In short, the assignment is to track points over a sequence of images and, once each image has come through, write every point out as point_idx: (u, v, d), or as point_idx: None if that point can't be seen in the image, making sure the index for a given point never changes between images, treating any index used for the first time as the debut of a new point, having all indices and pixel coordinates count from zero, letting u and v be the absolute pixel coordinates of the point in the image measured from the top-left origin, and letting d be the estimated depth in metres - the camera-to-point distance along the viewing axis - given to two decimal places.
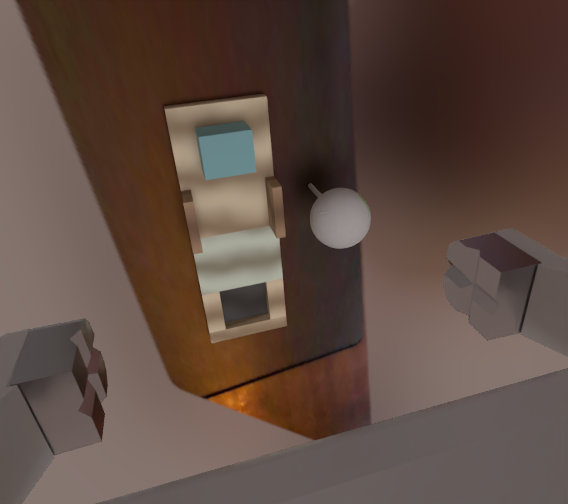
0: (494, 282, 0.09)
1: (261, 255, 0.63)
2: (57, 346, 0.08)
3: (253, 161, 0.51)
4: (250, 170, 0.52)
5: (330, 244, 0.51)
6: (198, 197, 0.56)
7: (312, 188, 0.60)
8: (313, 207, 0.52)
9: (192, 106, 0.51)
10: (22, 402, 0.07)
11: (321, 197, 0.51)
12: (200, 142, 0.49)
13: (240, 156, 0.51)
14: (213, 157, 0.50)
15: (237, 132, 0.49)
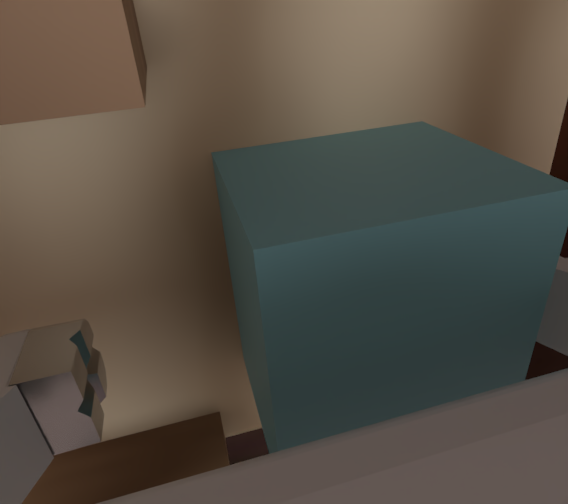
0: None
1: None
2: (56, 346, 0.08)
3: None
4: None
5: None
6: (92, 116, 0.09)
7: None
8: None
9: (560, 105, 0.11)
10: (21, 402, 0.07)
11: None
12: (542, 201, 0.07)
13: None
14: (420, 289, 0.07)
15: None
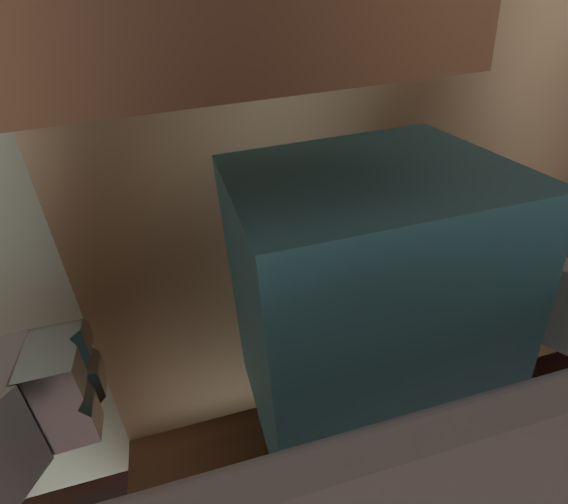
0: None
1: None
2: (57, 346, 0.08)
3: None
4: None
5: None
6: (310, 93, 0.09)
7: None
8: None
9: None
10: (22, 402, 0.07)
11: None
12: (548, 205, 0.07)
13: None
14: (424, 295, 0.07)
15: None
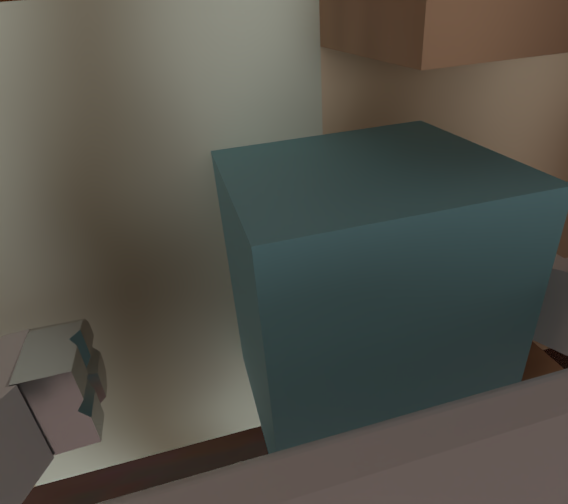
0: None
1: (176, 377, 0.12)
2: (57, 346, 0.08)
3: None
4: None
5: None
6: (550, 58, 0.11)
7: None
8: None
9: None
10: (22, 402, 0.07)
11: None
12: (538, 199, 0.07)
13: None
14: (417, 287, 0.07)
15: None
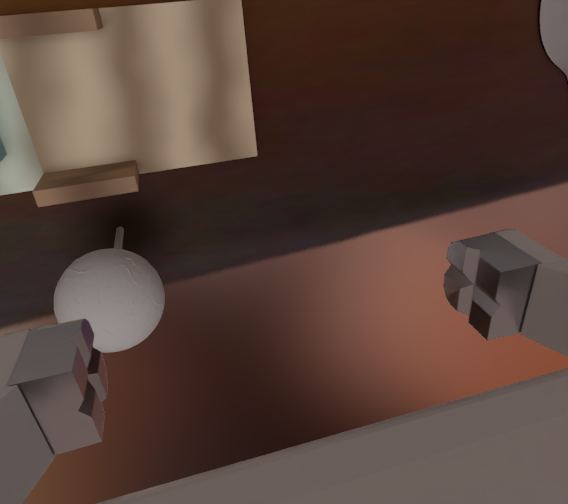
0: (494, 282, 0.09)
1: None
2: (57, 346, 0.08)
3: None
4: None
5: (66, 299, 0.28)
6: (88, 41, 0.31)
7: (121, 235, 0.39)
8: (126, 253, 0.30)
9: (244, 44, 0.34)
10: (22, 402, 0.07)
11: (146, 262, 0.31)
12: None
13: None
14: None
15: None
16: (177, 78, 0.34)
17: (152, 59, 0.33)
